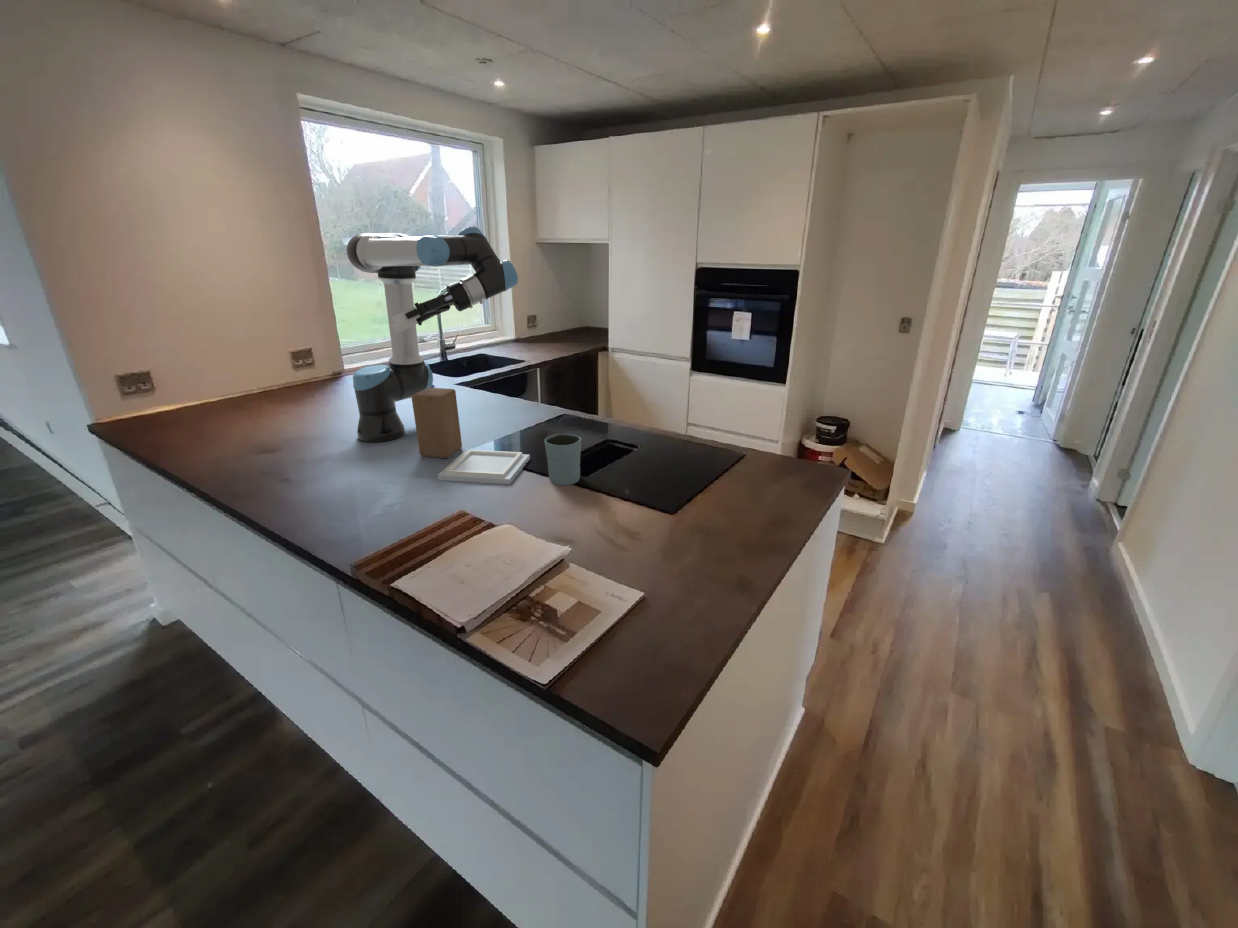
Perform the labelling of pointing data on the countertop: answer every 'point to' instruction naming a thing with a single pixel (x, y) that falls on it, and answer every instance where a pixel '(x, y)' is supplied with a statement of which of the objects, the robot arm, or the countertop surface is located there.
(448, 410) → the wooden block
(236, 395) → the countertop surface
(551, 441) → the teal cup
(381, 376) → the robot arm
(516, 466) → the baseplate
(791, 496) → the countertop surface
